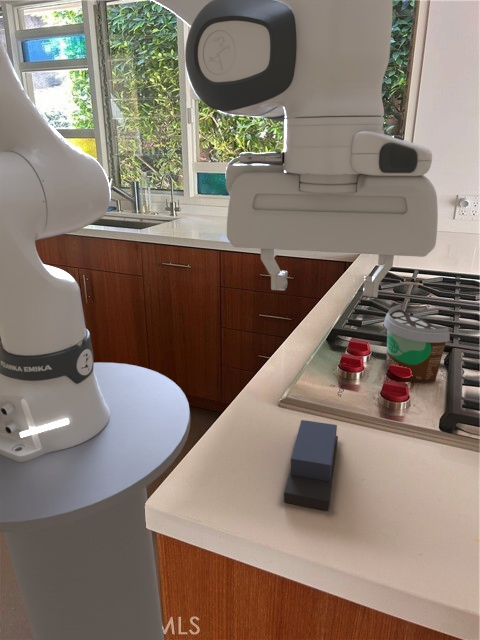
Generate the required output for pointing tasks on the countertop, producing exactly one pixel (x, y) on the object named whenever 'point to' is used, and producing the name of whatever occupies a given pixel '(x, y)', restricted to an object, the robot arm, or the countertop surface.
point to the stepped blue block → (312, 465)
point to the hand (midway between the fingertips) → (323, 292)
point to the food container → (414, 344)
